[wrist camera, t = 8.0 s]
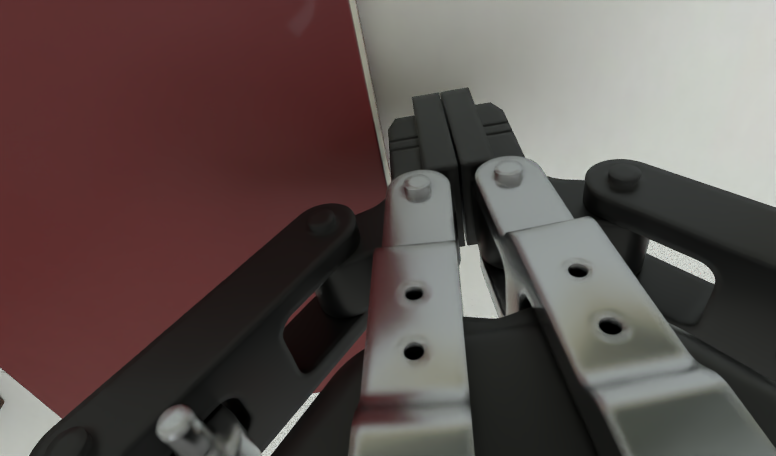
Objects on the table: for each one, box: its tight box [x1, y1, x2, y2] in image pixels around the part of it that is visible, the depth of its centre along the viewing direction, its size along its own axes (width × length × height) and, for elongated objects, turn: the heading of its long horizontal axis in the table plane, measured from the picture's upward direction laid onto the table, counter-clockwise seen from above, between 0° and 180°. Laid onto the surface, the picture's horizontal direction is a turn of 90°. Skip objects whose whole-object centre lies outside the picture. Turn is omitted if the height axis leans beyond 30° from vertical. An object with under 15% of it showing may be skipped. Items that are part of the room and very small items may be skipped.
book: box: [0, 0, 391, 419], centre depth 13 cm, size 14×19×3 cm
